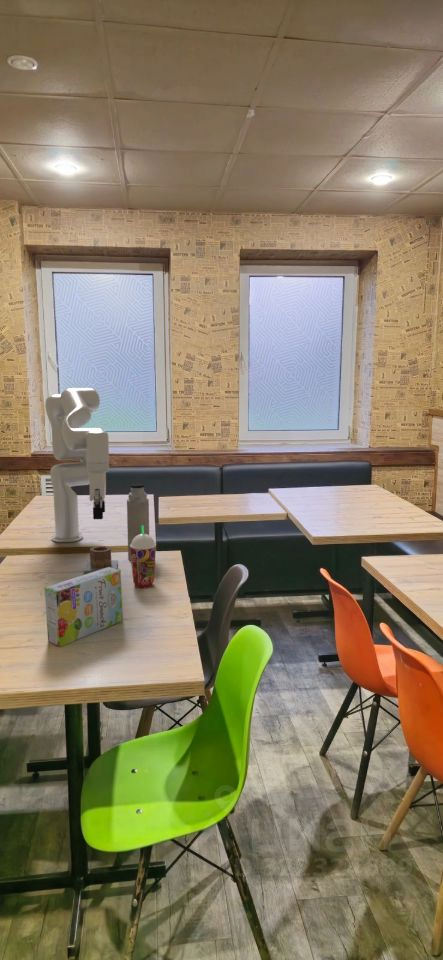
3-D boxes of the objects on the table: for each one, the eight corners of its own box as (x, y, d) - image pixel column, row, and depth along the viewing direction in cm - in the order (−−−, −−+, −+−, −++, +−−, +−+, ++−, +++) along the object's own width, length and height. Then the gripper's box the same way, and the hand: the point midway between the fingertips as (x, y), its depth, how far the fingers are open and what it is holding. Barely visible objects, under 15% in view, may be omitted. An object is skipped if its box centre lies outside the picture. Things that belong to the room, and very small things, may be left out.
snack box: (110, 616, 172) (108, 565, 169) (123, 621, 168) (122, 570, 166) (46, 641, 156) (43, 586, 153) (59, 648, 152) (57, 591, 149)
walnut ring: (91, 562, 215) (91, 546, 214) (111, 561, 216) (111, 545, 215) (89, 568, 209) (89, 552, 208) (110, 568, 209) (109, 551, 208)
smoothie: (152, 590, 192) (151, 529, 188) (127, 588, 194) (125, 528, 190) (159, 582, 200) (159, 523, 197) (135, 580, 202) (134, 522, 198)
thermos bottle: (131, 554, 230) (129, 482, 225) (151, 555, 229) (150, 482, 225) (125, 560, 222) (124, 486, 217) (147, 561, 222) (145, 486, 217)
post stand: (86, 565, 217) (86, 548, 216) (117, 564, 219) (117, 548, 218) (83, 575, 207) (83, 558, 206) (116, 573, 208) (115, 557, 207)
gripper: (89, 463, 214) (90, 509, 217) (84, 471, 197) (85, 522, 201) (110, 462, 215) (111, 509, 218) (107, 471, 198) (108, 521, 201)
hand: (99, 515), depth 209 cm, fingers open, 9 cm apart
